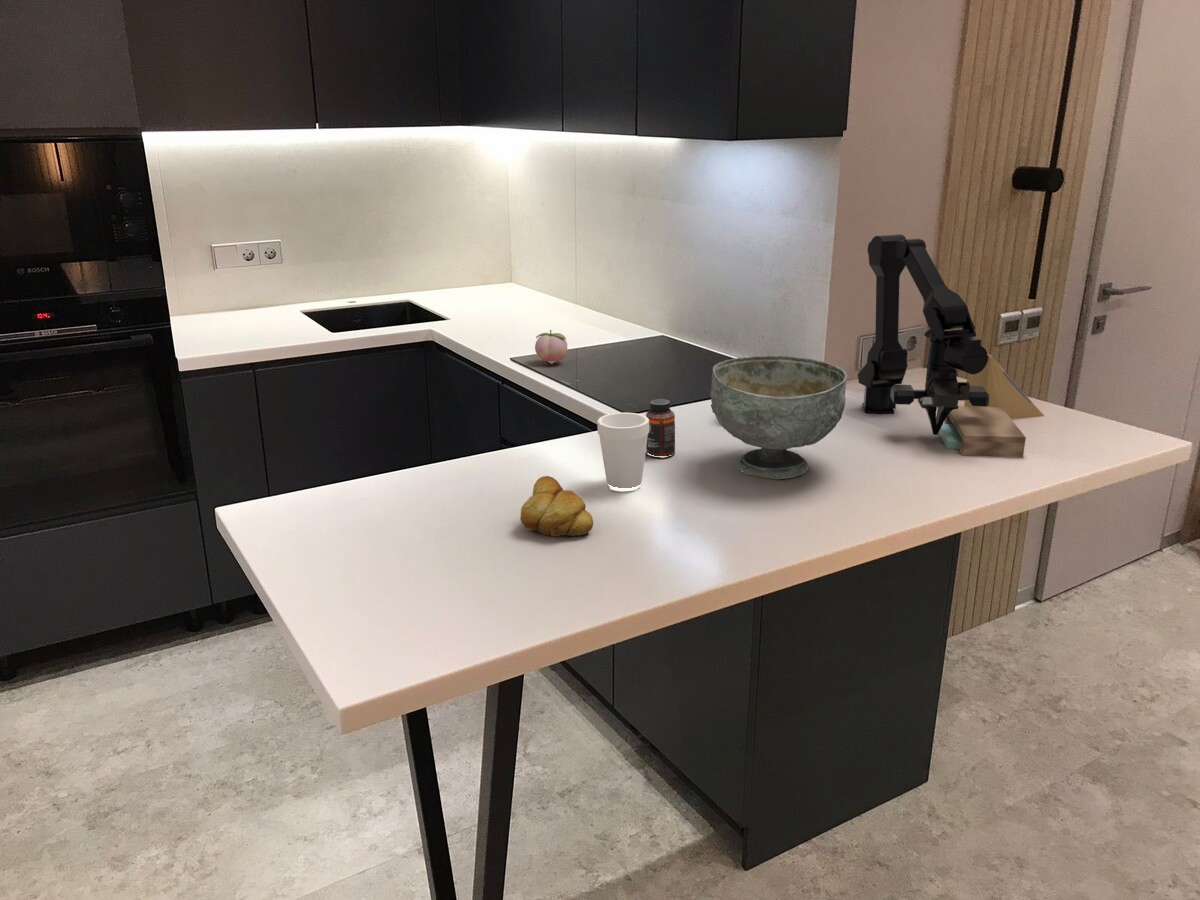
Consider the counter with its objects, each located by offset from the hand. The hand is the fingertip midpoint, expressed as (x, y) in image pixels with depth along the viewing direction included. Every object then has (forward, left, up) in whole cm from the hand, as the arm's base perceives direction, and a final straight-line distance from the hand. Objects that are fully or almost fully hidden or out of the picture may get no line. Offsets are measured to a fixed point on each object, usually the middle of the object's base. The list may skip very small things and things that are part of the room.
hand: (934, 434), depth 196 cm
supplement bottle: (-56, -15, -1) cm, 58 cm away
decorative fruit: (-94, +56, -1) cm, 110 cm away
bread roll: (-70, -54, -1) cm, 88 cm away
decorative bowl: (-33, -21, -1) cm, 39 cm away
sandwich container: (+18, +20, -1) cm, 27 cm away
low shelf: (+9, 0, -1) cm, 9 cm away
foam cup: (-61, -33, -1) cm, 70 cm away
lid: (+8, 0, -2) cm, 8 cm away
